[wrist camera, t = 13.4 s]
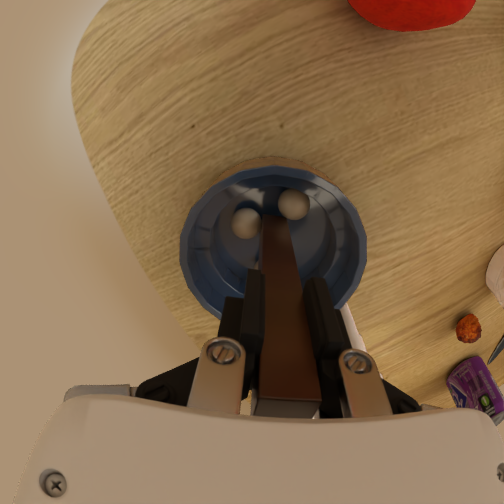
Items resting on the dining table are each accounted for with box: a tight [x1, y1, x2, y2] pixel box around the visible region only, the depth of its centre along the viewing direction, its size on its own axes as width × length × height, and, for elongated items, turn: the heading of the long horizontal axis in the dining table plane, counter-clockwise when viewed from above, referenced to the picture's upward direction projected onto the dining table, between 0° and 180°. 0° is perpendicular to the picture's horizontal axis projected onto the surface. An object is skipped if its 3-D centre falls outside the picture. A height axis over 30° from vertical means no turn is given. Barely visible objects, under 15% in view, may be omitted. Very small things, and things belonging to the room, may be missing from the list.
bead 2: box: [278, 188, 310, 220], centre depth 21 cm, size 2×2×2 cm
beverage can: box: [446, 356, 504, 426], centre depth 27 cm, size 7×7×12 cm
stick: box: [250, 214, 322, 419], centre depth 14 cm, size 2×2×16 cm
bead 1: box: [231, 208, 262, 239], centre depth 22 cm, size 2×2×2 cm
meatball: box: [456, 314, 482, 343], centre depth 26 cm, size 4×4×4 cm
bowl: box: [180, 156, 367, 320], centre depth 22 cm, size 13×13×5 cm
